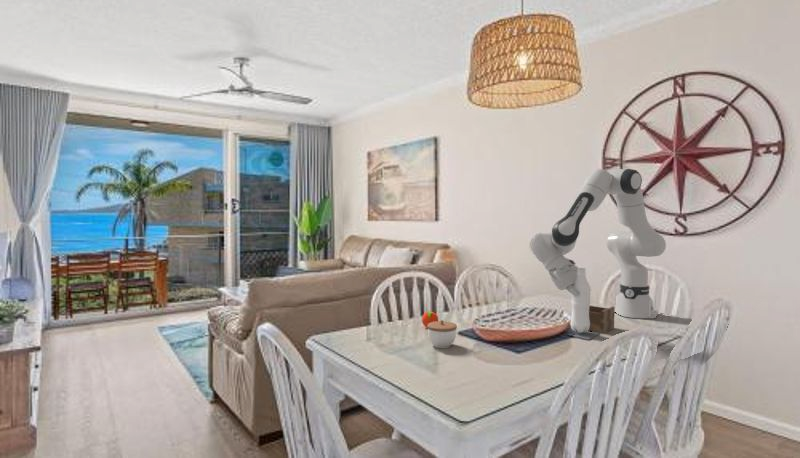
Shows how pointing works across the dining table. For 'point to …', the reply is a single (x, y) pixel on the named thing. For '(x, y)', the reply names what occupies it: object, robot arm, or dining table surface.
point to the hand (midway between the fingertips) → (582, 294)
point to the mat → (586, 335)
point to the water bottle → (580, 303)
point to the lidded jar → (442, 333)
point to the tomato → (429, 318)
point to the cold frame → (601, 319)
